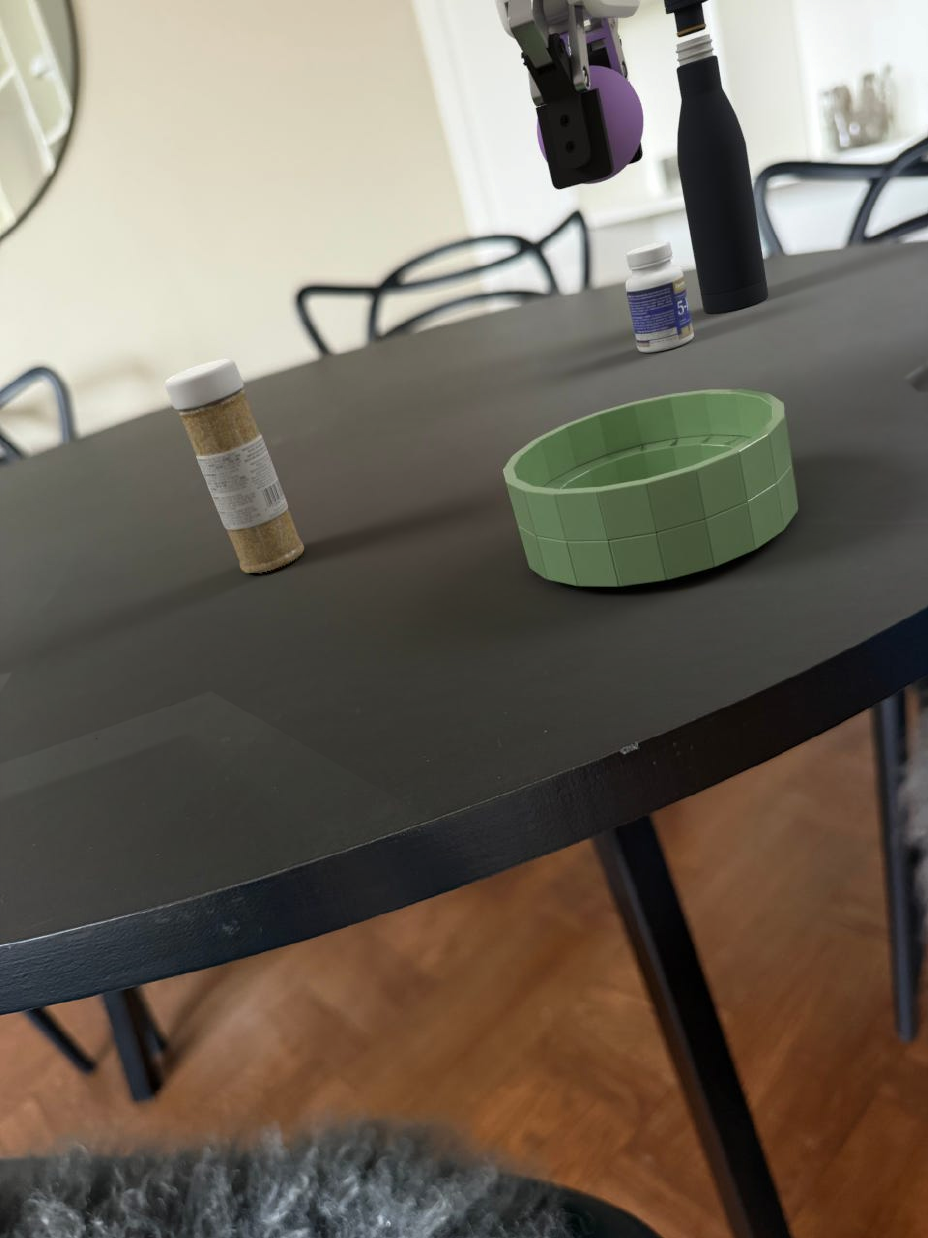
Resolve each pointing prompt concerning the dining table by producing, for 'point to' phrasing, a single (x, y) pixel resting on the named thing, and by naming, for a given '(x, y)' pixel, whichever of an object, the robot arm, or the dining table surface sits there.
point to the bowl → (654, 488)
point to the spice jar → (235, 464)
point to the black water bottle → (715, 175)
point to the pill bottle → (657, 299)
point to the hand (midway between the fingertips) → (599, 170)
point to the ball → (615, 117)
